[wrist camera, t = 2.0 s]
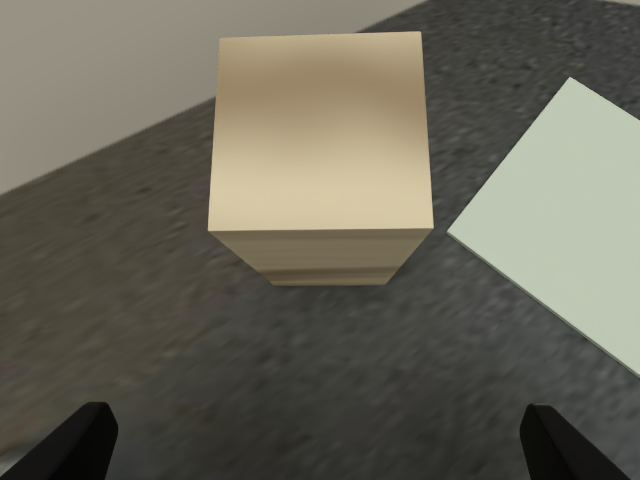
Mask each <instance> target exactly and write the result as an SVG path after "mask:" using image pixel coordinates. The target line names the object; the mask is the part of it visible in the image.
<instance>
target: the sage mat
mask: <svg viewBox="0 0 640 480" xmlns="http://www.w3.org/2000/svg"><path fill="white" fill-rule="evenodd" d="M446 234H448V235H449V236H450V237H452V238H453V239H454V240H456V241H457V242H458V243H460V244H461V245H462V246H464V247H465V248H466V249H468V250H469V251H470V252H472V253H473V254H474V255H476V256H477V257H478V258H480V259H481V260H482V261H484V262H485V263H486V264H488V265H489V266H490V267H492V268H493V269H494V270H496V271H497V272H498V273H500V274H501V275H502V276H504V277H505V278H506V279H508V280H509V281H510V282H512V283H513V284H514V285H516V286H517V287H518V288H520V289H521V290H522V291H524V292H525V293H526V294H528V295H529V296H530V297H532V298H533V299H534V300H536V301H537V302H538V303H540V304H541V305H542V306H544V307H545V308H546V309H548V310H549V311H550V312H552V313H553V314H554V315H556V316H557V317H558V318H560V319H561V320H562V321H564V322H565V323H566V324H568V325H569V326H570V327H572V328H573V329H574V330H576V331H577V332H578V333H580V334H581V335H582V336H584V337H585V338H586V339H588V340H589V341H590V342H592V343H593V344H594V345H596V346H597V347H598V348H600V349H601V350H602V351H604V352H605V353H606V354H608V355H609V356H610V357H612V358H613V359H614V360H616V361H617V362H618V363H620V364H621V365H622V366H624V367H625V368H626V369H628V370H629V371H630V372H632V373H633V374H634V375H636V376H637V377H638V378H640V121H639V120H638V119H636V118H635V117H633V116H631V115H630V114H628V113H627V112H625V111H624V110H622V109H620V108H619V107H617V106H616V105H614V104H612V103H611V102H609V101H608V100H606V99H604V98H603V97H601V96H600V95H598V94H596V93H595V92H593V91H592V90H590V89H588V88H587V87H585V86H584V85H582V84H581V83H579V82H577V81H576V80H574V79H573V78H571V77H569V78H568V80H567V81H566V82H565V83H564V84H563V86H562V87H561V88H560V89H559V91H558V92H557V93H556V94H555V96H554V97H553V98H552V100H551V101H550V102H549V103H548V105H547V106H546V107H545V108H544V110H543V111H542V112H541V113H540V115H539V116H538V117H537V118H536V120H535V121H534V122H533V123H532V125H531V126H530V127H529V128H528V130H527V131H526V132H525V133H524V135H523V136H522V137H521V138H520V140H519V141H518V142H517V143H516V145H515V146H514V147H513V148H512V150H511V151H510V152H509V154H508V155H507V156H506V157H505V159H504V160H503V161H502V162H501V164H500V165H499V166H498V167H497V169H496V170H495V171H494V172H493V174H492V175H491V176H490V177H489V179H488V180H487V181H486V182H485V184H484V185H483V186H482V187H481V189H480V190H479V191H478V192H477V194H476V195H475V196H474V197H473V199H472V200H471V201H470V203H469V204H468V205H467V206H466V208H465V209H464V210H463V211H462V213H461V214H460V215H459V216H458V218H457V219H456V220H455V221H454V223H453V224H452V225H451V226H450V228H449V229H448V230H447V231H446Z"/></svg>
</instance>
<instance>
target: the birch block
mask: <svg viewBox="0 0 640 480" xmlns="http://www.w3.org/2000/svg"><path fill="white" fill-rule="evenodd" d="M433 228H434V227H433V211H432V196H431V181H430V165H429V150H428V134H427V119H426V103H425V88H424V72H423V57H422V42H421V32H390V33H358V34H328V35H297V36H264V37H235V38H234V37H232V38H220V44H219V59H218V76H217V92H216V108H215V124H214V140H213V156H212V172H211V189H210V205H209V221H208V231H209V232H210V233H211V234H212V235H214V236H215V237H216V238H217V239H218V240H220V241H221V242H222V243H223V244H224V245H226V246H227V247H228V248H229V249H231V250H232V251H233V252H234V253H235V254H237V255H238V256H239V257H240V258H241V259H243V260H244V261H245V262H246V263H248V264H249V265H250V266H251V267H252V268H254V269H255V270H256V271H257V272H258V273H260V274H261V275H262V276H263V277H265V278H266V279H267V280H268V281H269V282H271V283H272V284H273V285H274V286H305V285H385V284H386V283H387V282H388V281H389V280H390V279H391V277H392V276H393V275H394V274H395V273H396V272H397V270H398V269H399V268H400V267H401V266H402V265H403V263H404V262H405V261H406V260H407V259H408V257H409V256H410V255H411V254H412V253H413V252H414V250H415V249H416V248H417V247H418V246H419V245H420V243H421V242H422V241H423V240H424V239H425V238H426V236H427V235H428V234H429V233H430V232H431V231H432V229H433Z"/></svg>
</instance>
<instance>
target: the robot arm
mask: <svg viewBox="0 0 640 480" xmlns="http://www.w3.org/2000/svg"><path fill="white" fill-rule="evenodd" d="M117 436H118V424H117V421H116V419H115V417H114V415H113V413H112V411H111V408H110V406H109V405H108V404H107V403H106V402H88V403H86V404H84V405H83V406H82V407H80V408H79V409H78V410H77V411H76V412H75V413H73V414H72V415H71V416H70V417H69V418H68V419H67V420H65V421H64V422H63V423H62V424H61V425H60V426H58V427H57V428H56V429H55V430H54V431H53V432H52V433H50V434H49V435H48V436H47V437H46V438H45V439H43V440H42V441H41V442H40V443H39V444H38V445H37V446H35V447H34V448H33V449H32V450H31V451H30V452H28V453H27V454H26V455H25V456H24V457H23V458H21V459H20V460H19V461H18V462H17V463H16V464H15V465H13V466H12V467H11V468H10V469H9V470H8V471H6V472H5V473H4V474H3V475H2V476H1V477H0V480H105V477H106V474H107V470H108V467H109V463H110V460H111V456H112V453H113V450H114V446H115V443H116V439H117ZM520 439H521V443H522V447H523V451H524V454H525V458H526V462H527V466H528V470H529V474H530V478H531V480H631V479H630V478H628V477H627V476H626V475H625V474H624V473H623V472H622V471H621V470H620V469H619V468H618V467H617V466H616V465H615V464H614V463H613V462H611V461H610V460H609V459H608V458H607V457H606V456H605V455H604V454H603V453H602V452H601V451H600V450H599V449H598V448H597V447H596V446H594V445H593V444H592V443H591V442H590V441H589V440H588V439H587V438H586V437H585V436H584V435H583V434H582V433H581V432H580V431H579V430H577V429H576V428H575V427H574V426H573V425H572V424H571V423H570V422H569V421H568V420H567V419H566V418H565V417H564V416H563V415H562V414H561V413H559V412H558V411H557V410H556V409H555V408H554V407H553V406H551V405H550V404H546V403H531V404H529V405H528V406H527V408H526V411H525V414H524V416H523V419H522V422H521V425H520Z"/></svg>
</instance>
